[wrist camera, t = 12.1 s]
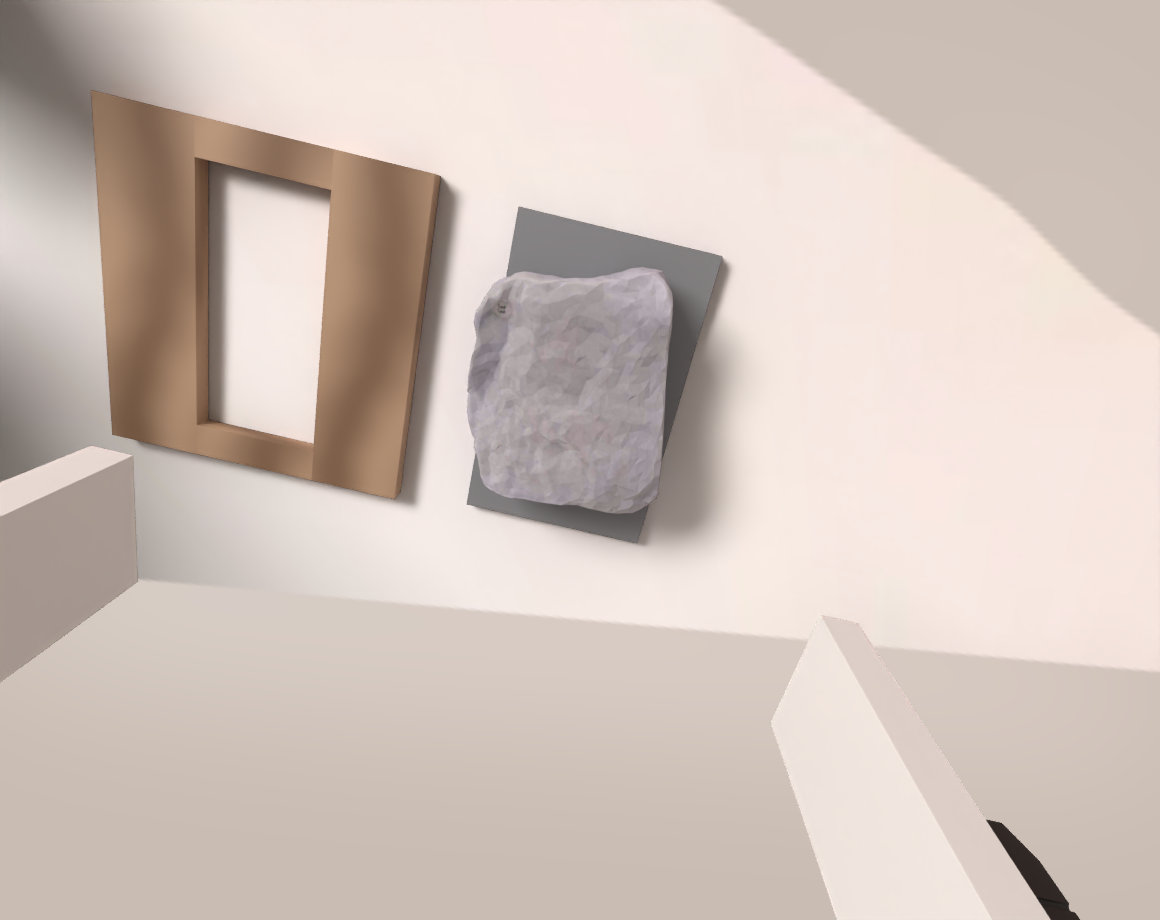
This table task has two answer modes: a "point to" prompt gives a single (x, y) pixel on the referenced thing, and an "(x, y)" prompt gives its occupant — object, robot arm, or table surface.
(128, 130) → the pocket board
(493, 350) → the stone block
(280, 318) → the table surface
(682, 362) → the mat
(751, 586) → the table surface
